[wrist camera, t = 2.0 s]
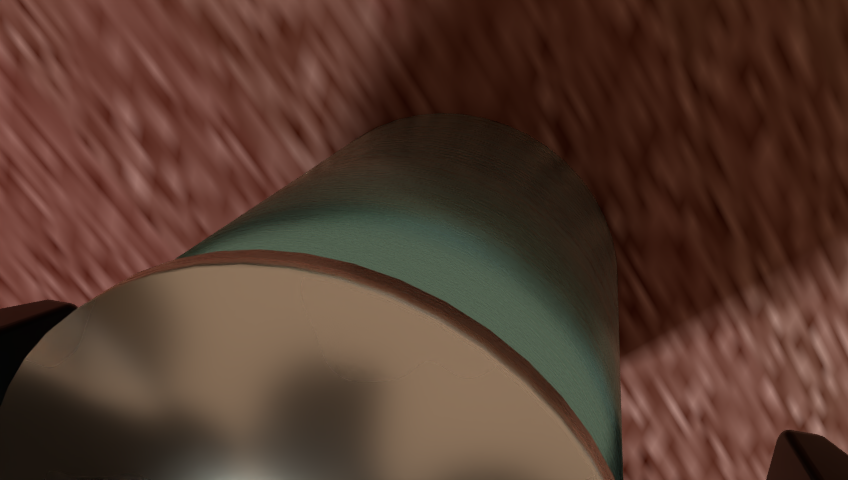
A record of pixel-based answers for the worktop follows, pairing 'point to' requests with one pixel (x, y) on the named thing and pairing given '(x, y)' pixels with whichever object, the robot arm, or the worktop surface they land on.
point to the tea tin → (352, 331)
